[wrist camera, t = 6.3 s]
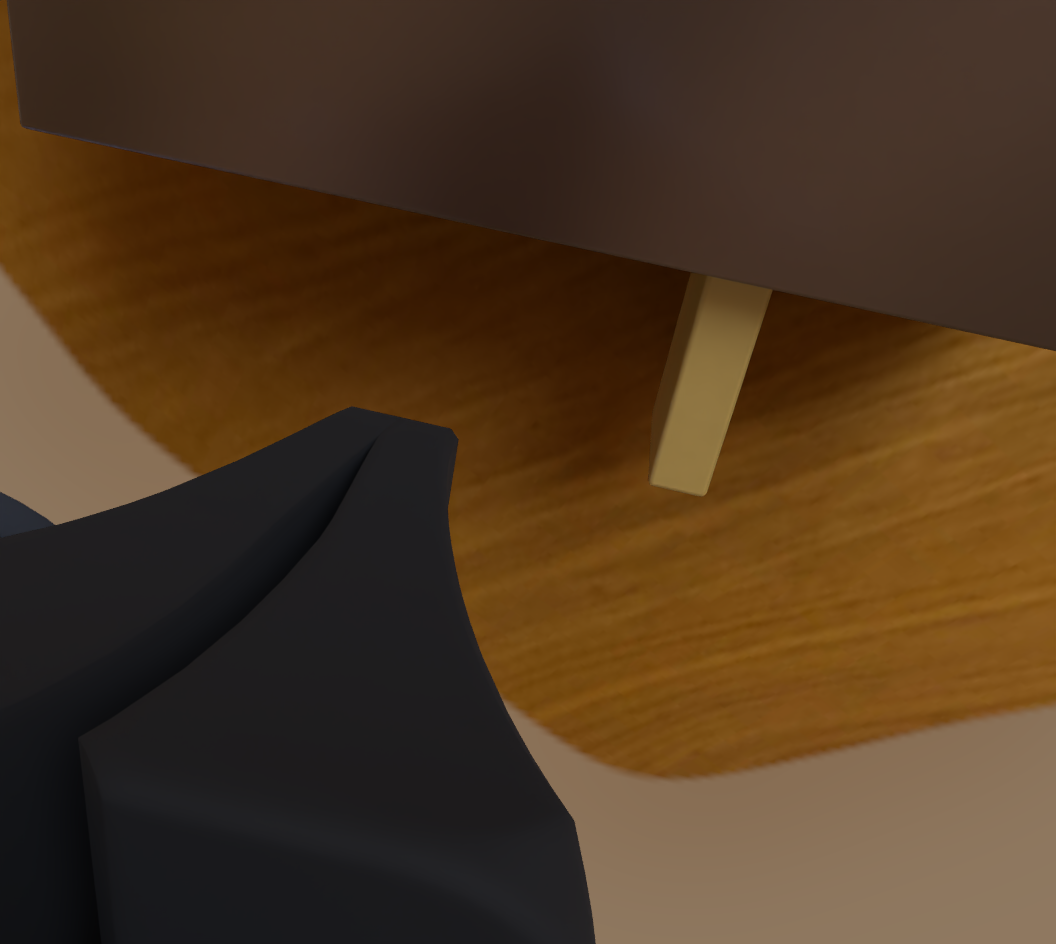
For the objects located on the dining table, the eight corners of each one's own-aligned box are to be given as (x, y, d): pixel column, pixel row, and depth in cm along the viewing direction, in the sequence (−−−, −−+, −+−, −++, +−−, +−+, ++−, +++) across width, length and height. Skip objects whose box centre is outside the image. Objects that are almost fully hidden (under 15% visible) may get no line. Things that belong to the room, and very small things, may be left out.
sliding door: (515, 359, 19) (478, 448, 15) (557, 127, 16) (523, 171, 13) (839, 431, 18) (877, 539, 15) (930, 206, 16) (998, 272, 13)
